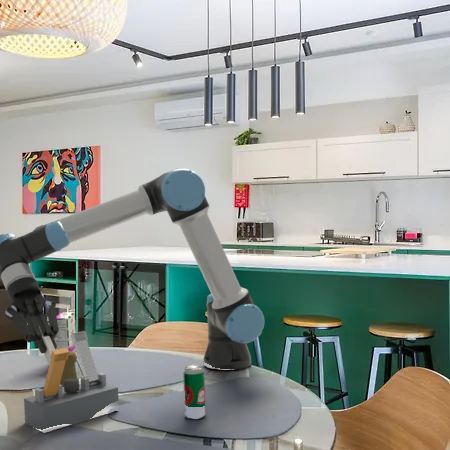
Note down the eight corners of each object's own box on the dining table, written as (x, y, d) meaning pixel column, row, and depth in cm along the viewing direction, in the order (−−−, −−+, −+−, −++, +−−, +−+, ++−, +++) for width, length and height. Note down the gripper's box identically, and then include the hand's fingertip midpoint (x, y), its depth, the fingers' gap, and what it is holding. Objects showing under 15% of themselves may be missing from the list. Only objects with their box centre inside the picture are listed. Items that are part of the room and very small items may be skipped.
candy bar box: (62, 360, 201) (60, 312, 200) (77, 359, 201) (75, 311, 200) (54, 369, 189) (52, 318, 189) (70, 368, 190) (68, 317, 189)
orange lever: (40, 396, 140) (52, 350, 134) (54, 393, 142) (66, 347, 137) (42, 401, 139) (54, 354, 133) (56, 397, 142) (69, 351, 136)
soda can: (203, 420, 139) (201, 370, 139) (182, 420, 140) (180, 370, 140) (207, 413, 144) (206, 364, 144) (187, 412, 145) (186, 364, 145)
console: (25, 423, 142) (23, 386, 141) (98, 402, 155) (96, 369, 155) (43, 433, 134) (42, 395, 134) (118, 411, 148) (117, 376, 148)
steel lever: (86, 388, 148) (70, 335, 153) (99, 385, 150) (82, 333, 155) (88, 386, 147) (72, 333, 152) (101, 383, 149) (85, 330, 154)
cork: (73, 386, 170) (72, 348, 170) (83, 390, 165) (81, 352, 165) (53, 391, 166) (52, 352, 166) (63, 395, 162) (61, 356, 161)
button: (61, 390, 145) (61, 380, 145) (74, 387, 147) (74, 377, 147) (68, 393, 142) (68, 383, 142) (82, 390, 144) (81, 380, 144)
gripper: (41, 291, 156) (74, 365, 144) (-9, 298, 147) (23, 377, 135) (49, 273, 152) (84, 347, 140) (-1, 278, 143) (32, 358, 131)
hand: (54, 362), depth 138 cm, fingers closed
